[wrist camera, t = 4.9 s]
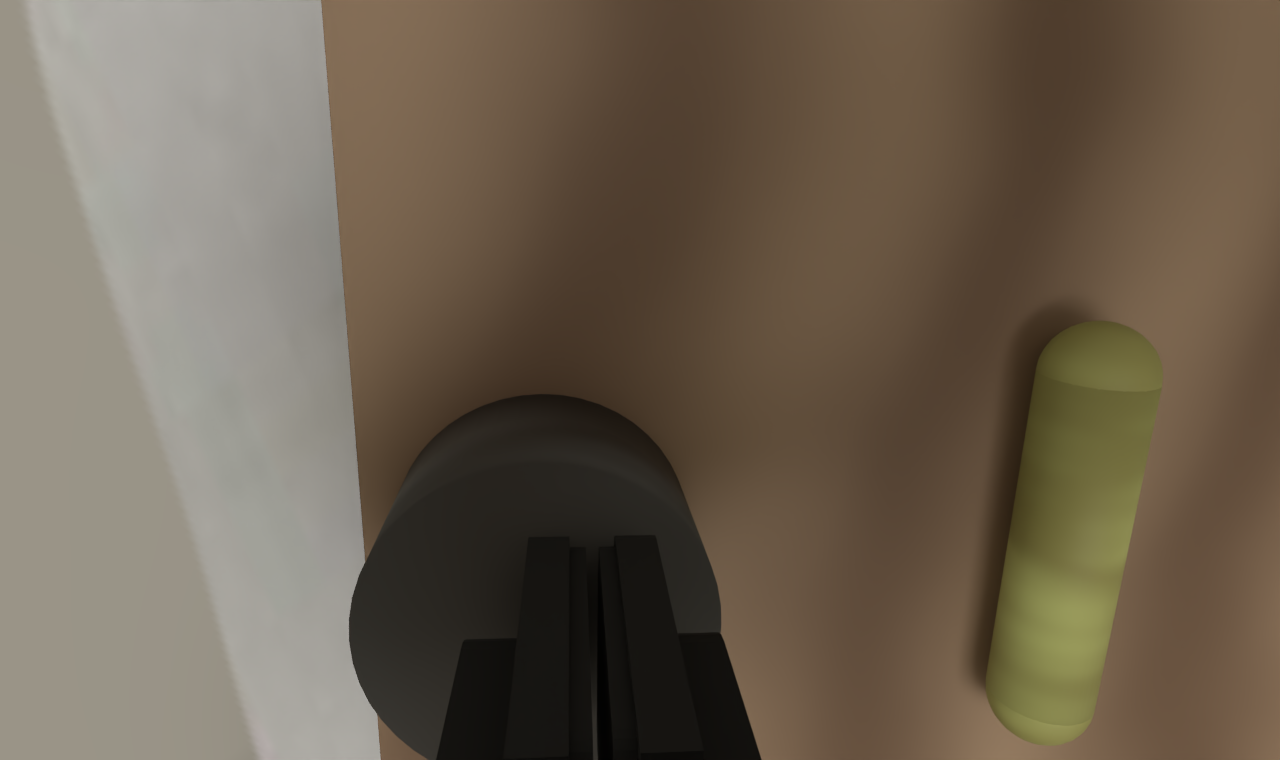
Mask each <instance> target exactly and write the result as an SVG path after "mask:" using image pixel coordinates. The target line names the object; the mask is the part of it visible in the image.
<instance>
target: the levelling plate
mask: <svg viewBox="0 0 1280 760" xmlns="http://www.w3.org/2000/svg"><path fill="white" fill-rule="evenodd" d="M321 3H322V15H323V28H324V41H325V54H326V66H327V79H328V92H329V104H330V117H331V130H332V143H333V155H334V168H335V181H336V194H337V206H338V219H339V232H340V245H341V257H342V270H343V283H344V296H345V308H346V321H347V334H348V346H349V359H350V372H351V385H352V397H353V410H354V423H355V436H356V448H357V461H358V474H359V487H360V499H361V512H362V525H363V538H364V550H365V564H364V566H363V568H362V571H361V573H360V575H359V577H358V581H357V584H356V587H355V590H354V594H353V597H352V603H351V610H350V617H349V642H350V648H351V654H352V660H353V665H354V668H355V671H356V674H357V677H358V680H359V683H360V685H361V687H362V689H363V691H364V693H365V695H366V697H367V699H368V701H369V703H370V704H371V706H372V707H373V709H374V710H375V711H376V713H377V716H378V729H379V741H380V754H381V760H436V758H437V753H438V749H439V744H440V740H441V735H442V731H443V726H444V722H445V717H446V713H447V708H448V704H449V699H450V695H451V691H452V686H453V682H454V677H455V673H456V668H457V664H458V659H459V655H460V650H461V647H462V643H463V641H464V640H465V639H500V638H517V634H518V625H519V616H520V607H521V598H522V589H523V580H524V572H525V563H526V554H527V545H528V537H567V536H569V547H586V567H587V593H588V620H589V647H590V673H591V700H592V727H593V760H598V756H597V641H598V552H599V547H613V546H614V537H615V536H623V535H655V536H656V539H657V543H658V548H659V552H660V557H661V561H662V566H663V570H664V575H665V579H666V584H667V588H668V593H669V597H670V602H671V606H672V610H673V615H674V619H675V624H676V628H677V633H709V632H719V633H720V634H721V635H722V637H723V639H724V642H725V645H726V648H727V651H728V655H729V658H730V661H731V664H732V667H733V670H734V674H735V677H736V680H737V683H738V686H739V689H740V693H741V696H742V699H743V702H744V705H745V708H746V712H747V715H748V718H749V721H750V724H751V727H752V731H753V734H754V737H755V740H756V743H757V747H758V750H759V753H760V756H761V759H762V760H1280V0H321Z"/></svg>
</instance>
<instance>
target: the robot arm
mask: <svg viewBox="0 0 1280 760" xmlns="http://www.w3.org/2000/svg"><path fill="white" fill-rule="evenodd" d="M597 756H598V760H762V759H761V756H760V753H759V750H758V747H757V743H756V740H755V737H754V734H753V731H752V727H751V724H750V721H749V718H748V715H747V712H746V708H745V705H744V702H743V699H742V696H741V693H740V689H739V686H738V683H737V680H736V677H735V674H734V670H733V667H732V664H731V661H730V658H729V655H728V651H727V648H726V645H725V642H724V639H723V637H722V635H721V634H720V633H719V632H709V633H677V628H676V624H675V619H674V615H673V610H672V606H671V602H670V597H669V593H668V588H667V584H666V579H665V575H664V570H663V566H662V561H661V557H660V552H659V548H658V543H657V539H656V536H655V535H623V536H615V537H614V546H613V547H599V552H598V641H597ZM436 760H593V727H592V700H591V673H590V647H589V620H588V593H587V567H586V547H569V536H567V537H528V545H527V554H526V563H525V572H524V580H523V589H522V598H521V607H520V616H519V625H518V634H517V638H500V639H465V640H464V641H463V643H462V647H461V650H460V655H459V659H458V664H457V668H456V673H455V677H454V682H453V686H452V691H451V695H450V699H449V704H448V708H447V713H446V717H445V722H444V726H443V731H442V735H441V740H440V744H439V749H438V753H437V758H436Z"/></svg>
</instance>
